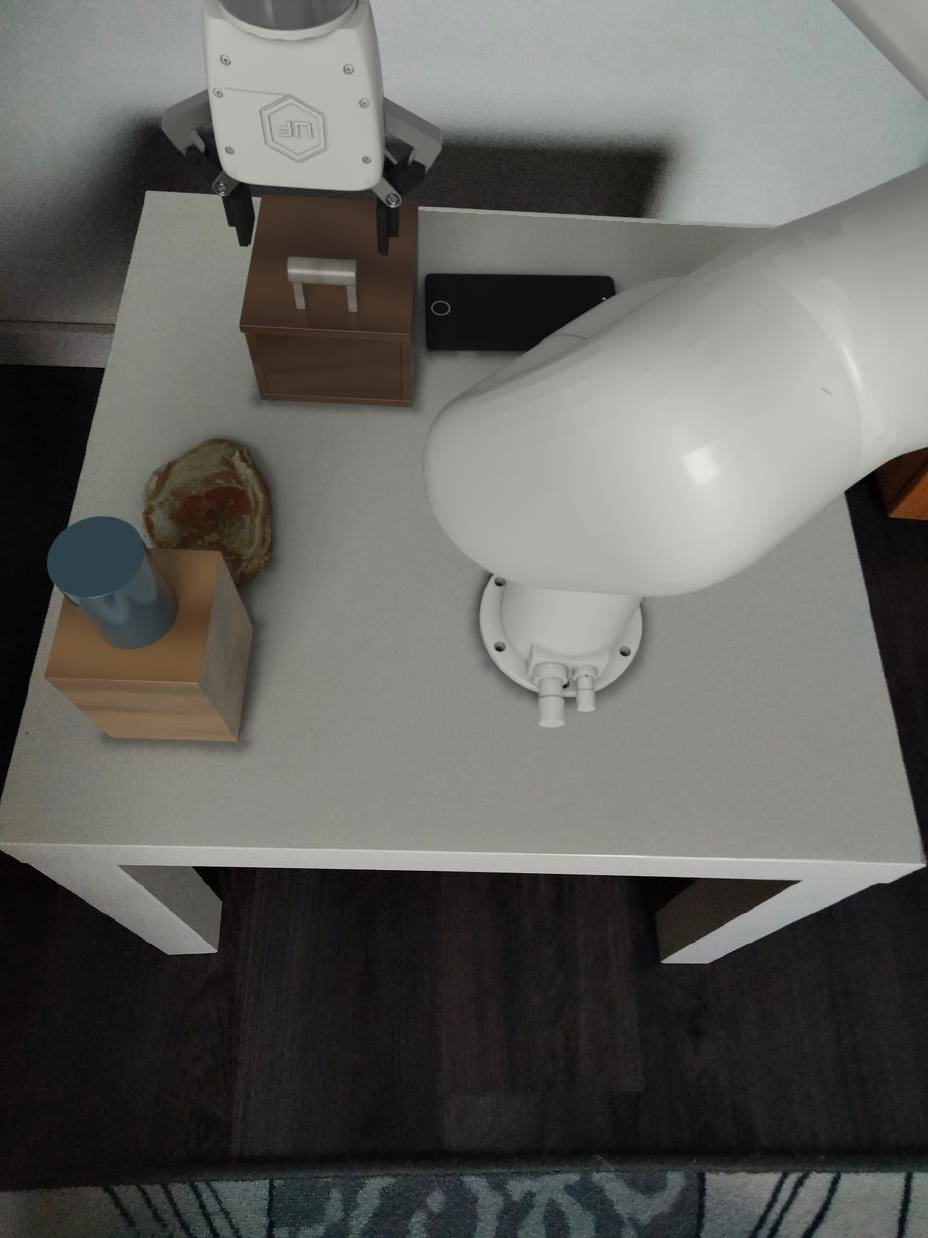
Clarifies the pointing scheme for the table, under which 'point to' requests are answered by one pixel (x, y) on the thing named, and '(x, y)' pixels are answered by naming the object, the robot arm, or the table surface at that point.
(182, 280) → the table surface
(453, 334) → the cell phone
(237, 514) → the stone
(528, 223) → the table surface
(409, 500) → the table surface
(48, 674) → the stand
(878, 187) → the robot arm
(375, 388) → the wooden box
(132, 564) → the blue glossy cylinder
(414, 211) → the lid
